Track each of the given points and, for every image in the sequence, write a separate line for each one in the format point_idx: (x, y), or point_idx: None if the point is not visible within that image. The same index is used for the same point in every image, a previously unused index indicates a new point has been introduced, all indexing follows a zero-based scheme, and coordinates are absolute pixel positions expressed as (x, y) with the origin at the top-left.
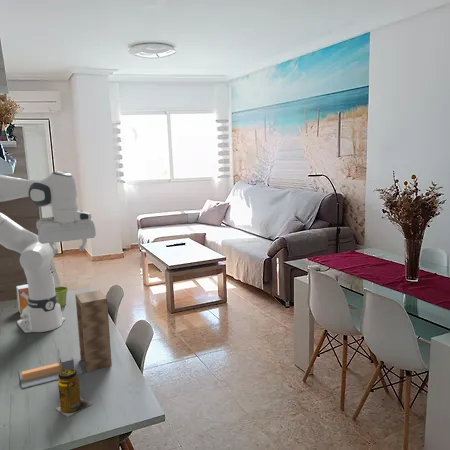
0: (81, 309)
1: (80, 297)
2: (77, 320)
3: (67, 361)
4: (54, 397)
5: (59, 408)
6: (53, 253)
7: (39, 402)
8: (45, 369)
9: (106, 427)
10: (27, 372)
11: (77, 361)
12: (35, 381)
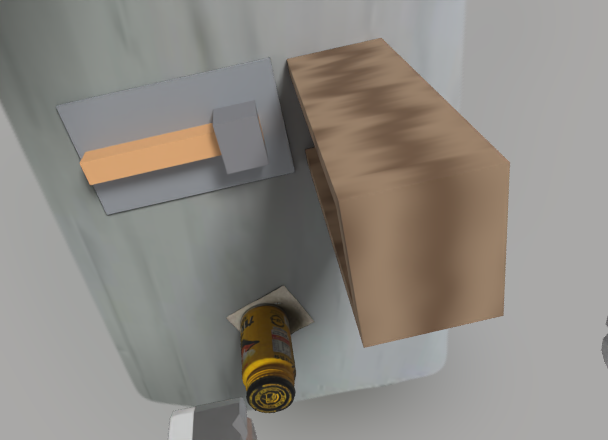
0: (353, 308)
1: (367, 267)
2: (310, 125)
3: (247, 168)
4: (217, 274)
5: (237, 319)
6: (176, 418)
7: (180, 286)
8: (167, 166)
9: (337, 387)
10: (105, 175)
11: (275, 85)
12: (141, 188)
